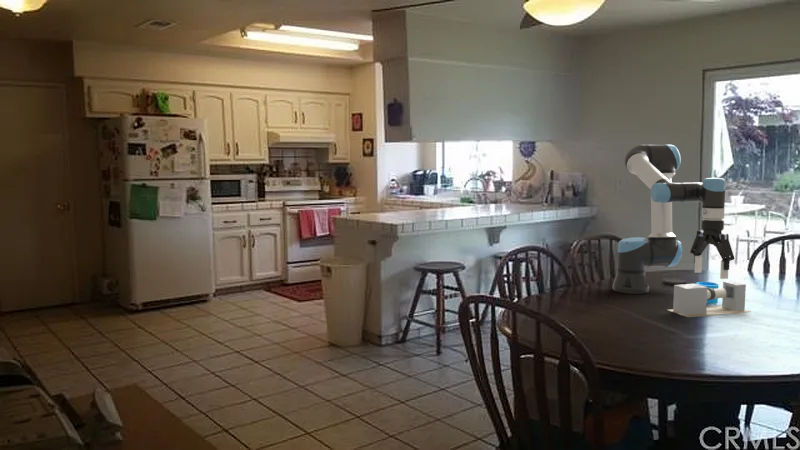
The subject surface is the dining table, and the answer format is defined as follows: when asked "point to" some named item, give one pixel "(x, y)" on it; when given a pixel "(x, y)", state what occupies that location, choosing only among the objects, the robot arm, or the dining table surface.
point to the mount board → (714, 311)
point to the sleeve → (690, 299)
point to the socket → (734, 296)
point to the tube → (715, 293)
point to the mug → (709, 285)
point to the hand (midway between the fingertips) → (710, 275)
